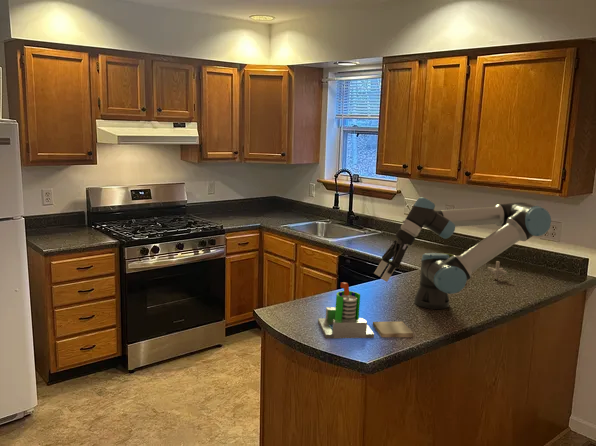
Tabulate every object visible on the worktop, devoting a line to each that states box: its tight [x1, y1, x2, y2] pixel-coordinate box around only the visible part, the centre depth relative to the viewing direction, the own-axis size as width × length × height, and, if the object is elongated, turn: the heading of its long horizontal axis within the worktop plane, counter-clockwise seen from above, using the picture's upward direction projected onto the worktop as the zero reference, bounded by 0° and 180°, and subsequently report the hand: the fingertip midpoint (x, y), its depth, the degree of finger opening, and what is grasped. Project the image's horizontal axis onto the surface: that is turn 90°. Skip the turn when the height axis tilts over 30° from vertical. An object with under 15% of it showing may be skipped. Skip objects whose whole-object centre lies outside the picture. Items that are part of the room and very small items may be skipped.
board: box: [372, 320, 414, 338], centre depth 201 cm, size 12×12×2 cm
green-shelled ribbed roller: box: [335, 281, 361, 320], centre depth 199 cm, size 9×8×18 cm
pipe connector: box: [487, 260, 508, 279], centre depth 278 cm, size 10×10×10 cm
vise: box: [317, 306, 375, 339], centre depth 202 cm, size 18×21×6 cm
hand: (380, 277), depth 214 cm, fingers open, 13 cm apart
